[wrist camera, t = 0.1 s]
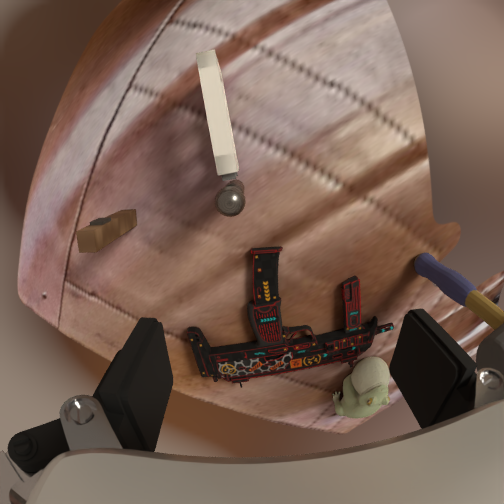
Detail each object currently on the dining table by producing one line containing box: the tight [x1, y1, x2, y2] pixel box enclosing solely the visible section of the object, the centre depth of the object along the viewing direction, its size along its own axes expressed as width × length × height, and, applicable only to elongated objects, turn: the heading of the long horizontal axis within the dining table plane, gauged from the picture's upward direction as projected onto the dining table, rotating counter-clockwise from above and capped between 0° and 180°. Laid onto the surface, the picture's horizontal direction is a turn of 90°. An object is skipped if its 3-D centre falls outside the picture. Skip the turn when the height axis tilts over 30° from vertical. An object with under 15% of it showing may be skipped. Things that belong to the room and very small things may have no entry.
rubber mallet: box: [414, 253, 504, 376], centre depth 28 cm, size 12×8×30 cm, turn 109°
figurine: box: [332, 357, 390, 418], centre depth 46 cm, size 10×16×10 cm, turn 174°
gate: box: [196, 50, 239, 181], centre depth 30 cm, size 2×15×9 cm, turn 10°
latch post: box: [76, 209, 137, 253], centre depth 33 cm, size 3×2×13 cm
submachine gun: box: [187, 247, 394, 388], centre depth 44 cm, size 34×4×25 cm
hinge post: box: [215, 180, 245, 217], centre depth 32 cm, size 3×3×15 cm
